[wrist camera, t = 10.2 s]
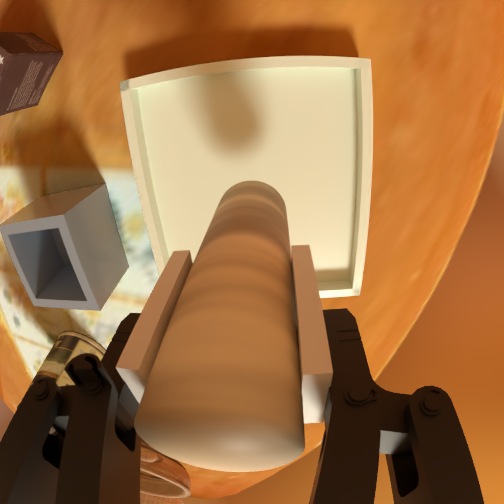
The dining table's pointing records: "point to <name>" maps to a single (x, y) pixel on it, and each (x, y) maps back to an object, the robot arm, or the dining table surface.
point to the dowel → (231, 346)
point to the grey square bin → (67, 249)
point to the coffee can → (66, 358)
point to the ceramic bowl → (162, 474)
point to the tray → (258, 152)
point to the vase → (158, 499)
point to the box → (24, 70)
